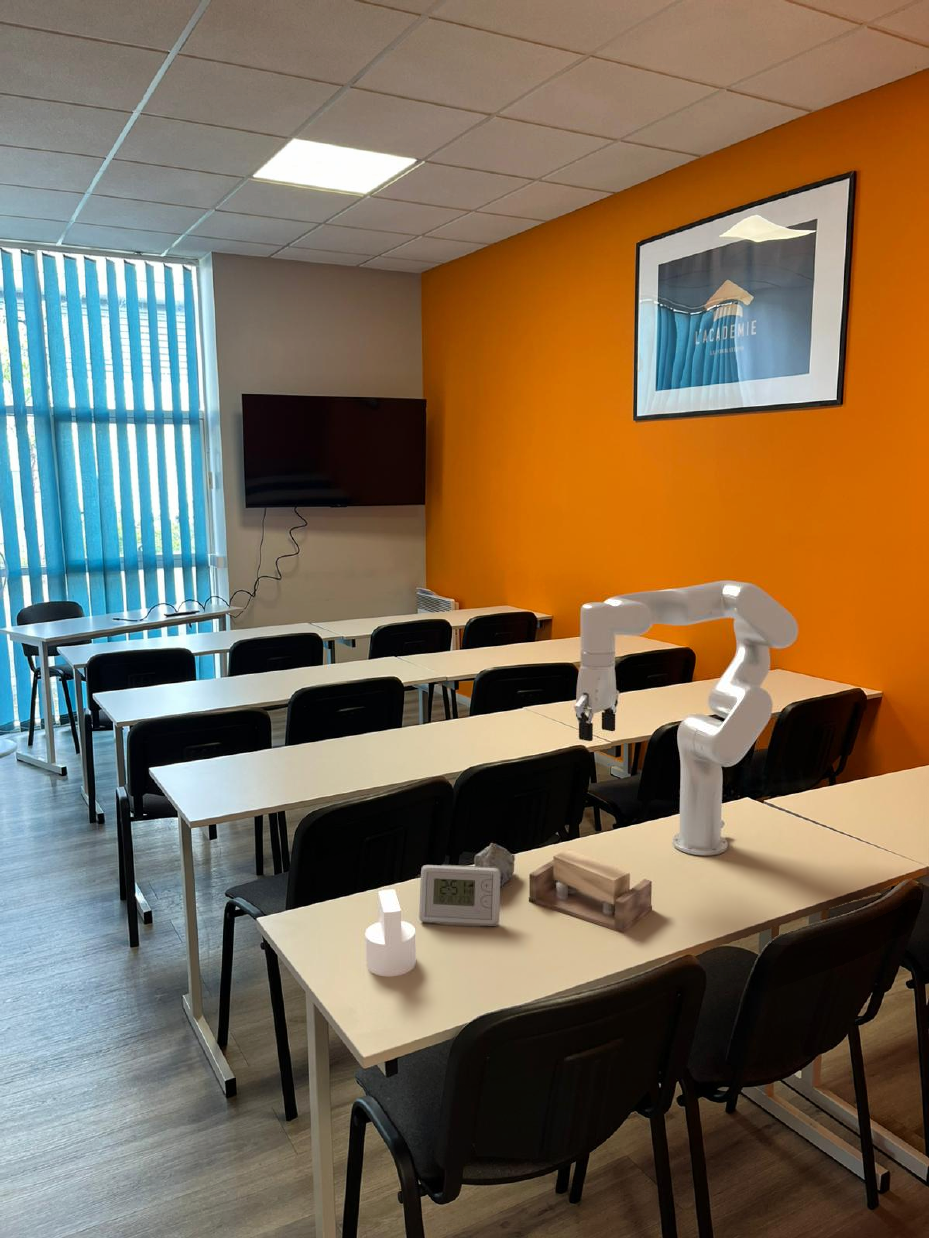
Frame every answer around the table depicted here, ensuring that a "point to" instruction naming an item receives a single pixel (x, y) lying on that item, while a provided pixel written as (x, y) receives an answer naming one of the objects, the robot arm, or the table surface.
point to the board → (591, 876)
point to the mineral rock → (496, 861)
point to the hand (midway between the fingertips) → (597, 735)
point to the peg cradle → (590, 901)
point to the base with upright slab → (390, 939)
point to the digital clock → (460, 895)
